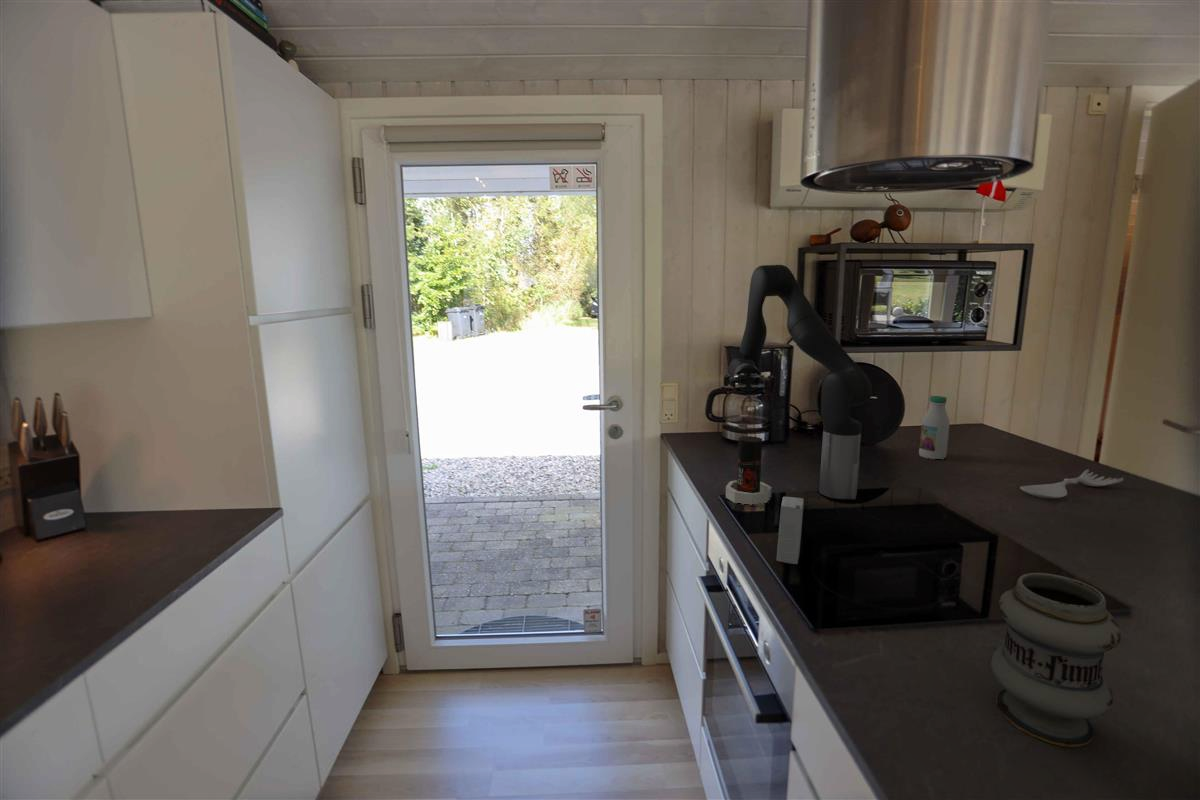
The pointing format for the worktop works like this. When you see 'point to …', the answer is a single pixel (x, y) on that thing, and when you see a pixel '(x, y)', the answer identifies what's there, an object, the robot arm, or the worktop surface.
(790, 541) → the skincare box
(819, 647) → the worktop surface
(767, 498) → the dish
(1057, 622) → the apothecary jar
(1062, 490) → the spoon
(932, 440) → the milk bottle
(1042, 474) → the worktop surface
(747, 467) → the deodorant
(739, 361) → the robot arm
